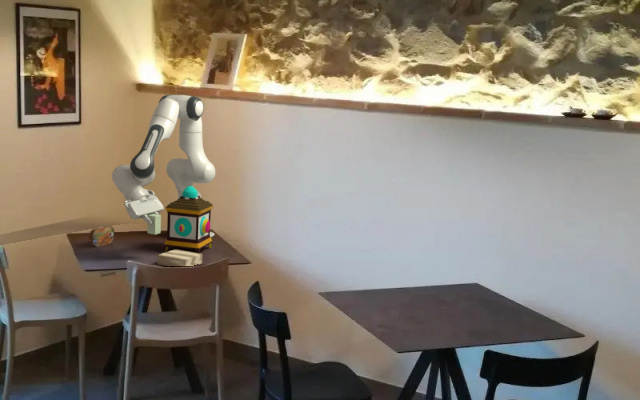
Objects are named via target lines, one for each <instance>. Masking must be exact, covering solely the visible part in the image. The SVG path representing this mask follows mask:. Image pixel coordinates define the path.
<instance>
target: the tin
mask: <svg viewBox="0 0 640 400" xmlns="http://www.w3.org/2000/svg"><path fill="white" fill-rule="evenodd" d="M115 235H116V233H115V228H113V227H112V226H109V225H108V226H107V225H104V226H99V227H96V228H93V229H92V230H91V231H90V232H89V234H88V242H89V244H90V245H91V246H92V247H96V248H99V247H103V246H106V245H110V244H111V243H113V241H114V239H115Z"/></svg>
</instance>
